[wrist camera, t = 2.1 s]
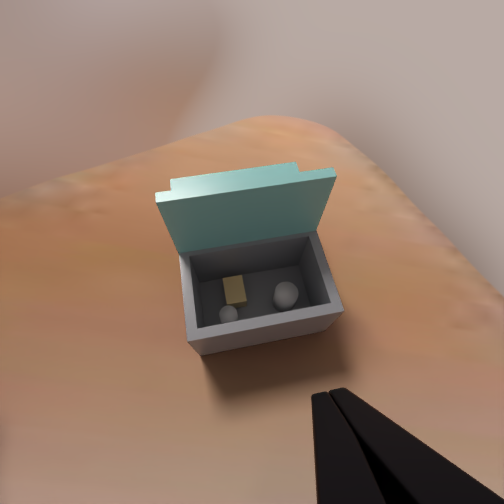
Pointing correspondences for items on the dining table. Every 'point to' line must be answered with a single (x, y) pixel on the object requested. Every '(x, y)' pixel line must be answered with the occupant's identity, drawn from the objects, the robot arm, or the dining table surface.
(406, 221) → the dining table surface
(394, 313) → the dining table surface
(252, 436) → the dining table surface
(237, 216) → the lid
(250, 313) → the tub
